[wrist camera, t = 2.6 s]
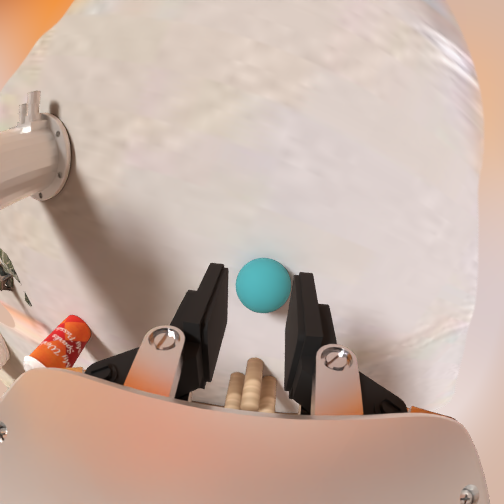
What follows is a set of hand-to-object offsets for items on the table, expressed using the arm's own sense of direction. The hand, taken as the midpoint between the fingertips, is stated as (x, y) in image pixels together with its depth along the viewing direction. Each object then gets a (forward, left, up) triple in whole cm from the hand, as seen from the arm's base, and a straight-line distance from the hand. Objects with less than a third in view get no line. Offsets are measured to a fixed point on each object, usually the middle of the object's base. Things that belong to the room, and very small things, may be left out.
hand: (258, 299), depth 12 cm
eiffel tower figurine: (+18, -52, -20) cm, 58 cm away
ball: (+9, 0, -16) cm, 19 cm away
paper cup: (+25, -32, -19) cm, 45 cm away
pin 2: (+29, +2, -19) cm, 35 cm away
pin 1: (+29, -3, -19) cm, 35 cm away
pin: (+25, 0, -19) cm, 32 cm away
